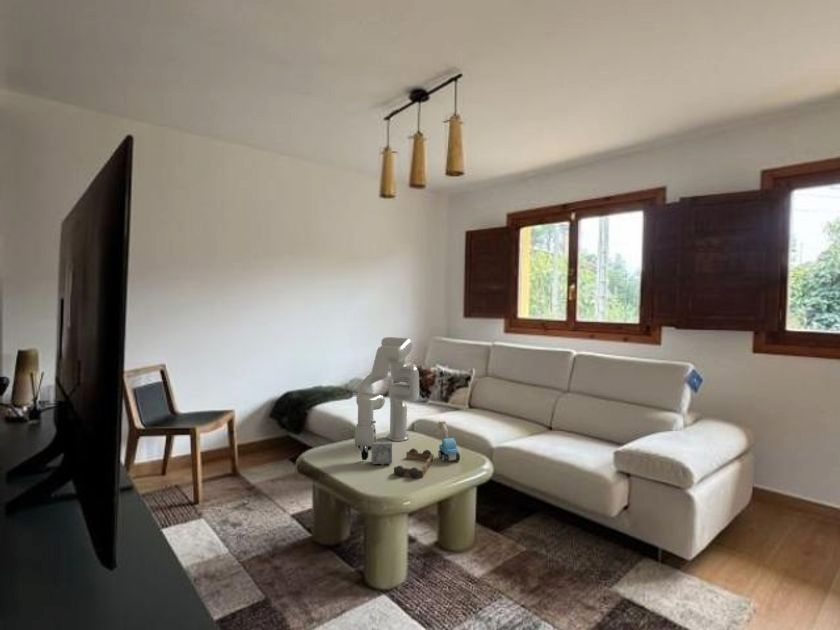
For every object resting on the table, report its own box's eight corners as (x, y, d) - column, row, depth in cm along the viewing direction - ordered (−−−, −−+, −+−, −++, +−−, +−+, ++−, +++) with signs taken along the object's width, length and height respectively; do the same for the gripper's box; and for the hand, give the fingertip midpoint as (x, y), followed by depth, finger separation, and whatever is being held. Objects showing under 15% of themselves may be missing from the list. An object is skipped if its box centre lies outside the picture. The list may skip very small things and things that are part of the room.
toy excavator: (448, 451, 241) (449, 419, 240) (461, 462, 225) (461, 428, 224) (433, 452, 238) (434, 420, 238) (444, 464, 222) (445, 429, 222)
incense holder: (390, 459, 227) (391, 438, 227) (392, 465, 219) (392, 444, 218) (371, 460, 226) (371, 439, 225) (371, 466, 217) (372, 444, 217)
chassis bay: (407, 456, 232) (408, 447, 232) (434, 459, 229) (434, 450, 228) (392, 475, 207) (392, 466, 207) (421, 479, 204) (421, 469, 203)
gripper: (382, 421, 225) (381, 458, 225) (354, 418, 228) (353, 454, 229) (377, 425, 217) (376, 463, 218) (348, 422, 221) (347, 460, 222)
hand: (364, 459), depth 224 cm, fingers closed
